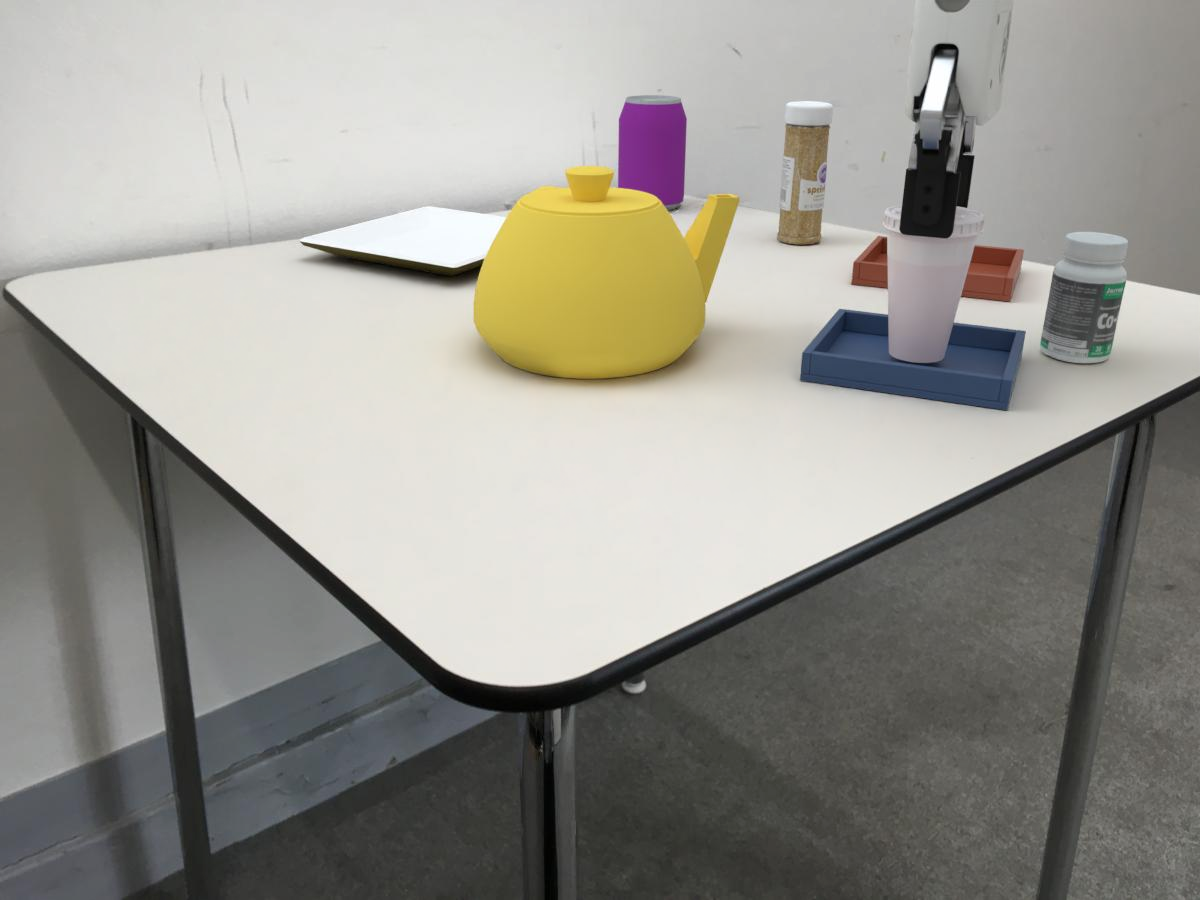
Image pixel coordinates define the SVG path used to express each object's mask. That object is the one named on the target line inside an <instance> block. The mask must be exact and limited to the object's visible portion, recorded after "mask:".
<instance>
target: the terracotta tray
mask: <svg viewBox="0 0 1200 900" xmlns="http://www.w3.org/2000/svg"><path fill="white" fill-rule="evenodd" d="M1024 252H1025V249H1022V248H1011V247H999V246H991V245H990V246H989V245H980V244H975V246H974V250H973V254H972V258H971V261H970V264H969V268H968V272H967V275H966V279H965V283H964V286H963V290H962V294H961V297H965V298H974V299H983V300H989V301H990V300H991V301H999V302H1000V301H1001V302H1011V300H1012V296H1013V294H1014V291H1015V288H1016V286H1017V282H1018V279H1019V276H1020V273H1021V270H1022V264H1023V259H1024ZM850 283H851V285H855V286H863V287H864V286H865V287H873V288H882V289H883V288H885V289H888V261H887V236H883V235H876V237H875V238H874V240H873V241H871V242H870V244H869V245H868V246H867V247H866V248H865V249H864V250H863V252H862V253H860V254H859V255H858V257H857V258H856V259H855V260H854V261H853V264H852V275H851V282H850Z"/></svg>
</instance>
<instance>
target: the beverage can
mask: <svg viewBox="0 0 1200 900" xmlns="http://www.w3.org/2000/svg"><path fill="white" fill-rule="evenodd" d="M687 121H688V119H687V115H686V112H685V109H684V106H683V102H682V98H681V97H680V96H674V95H660V94H658V95H657V94H645V95H644V94H643V95H642V94H641V95H629V96H626V97H625V101H624V104H623V107H622V109H621V112H620V115H619V118H618V150H617V151H618V153H617V154H618V158H617V161H618V163H617V164H618V165H617V169H618V170H617V188H624V189H632V190H637V191H642V192H646V193H649V194H652V195H654V196H656V197H657V198H658V199H659V200H660V201H661V202H662V203H663V205H664V206H665V208H666V209H667V210H668V211H673V210H676V209H677V208H678V207H679V206H680V205H681V204H682V203H683V202H684V198H685V177H686V154H687V153H686V149H687V123H688V122H687Z"/></svg>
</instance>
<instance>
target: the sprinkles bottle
mask: <svg viewBox="0 0 1200 900" xmlns="http://www.w3.org/2000/svg"><path fill="white" fill-rule="evenodd" d="M784 108H785V109H784V119H783V121H784V123H785V126H784V128H785V133H784V145H783V146H784V147H783V155H782V164H781V165H782V166H781V177H780V178H781V179H780V191H779V192H780V194H779V220H778V230H777V231H778V232H777V233H776V238H777V240H778V241H780V242H782V243H784V244H789V245H795V246H803V245H814V244H817V243H819V242H821V240H822V238H823V237H822V220H823V209H824V207H825V206H824V205H825V204H824V203H825V194H826V184H827V183H826V181H827V170H828V164H827V163H828V150H829V149H828V148H829V140H830V139H829V136H830V129H831V126H830V125H831V124H833V114H834V105H833V104H832V103H830V102H825V101H818V100H817V101H816V100H798V101H790V102H787V103H786V104H785V107H784Z"/></svg>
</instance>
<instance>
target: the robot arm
mask: <svg viewBox="0 0 1200 900" xmlns="http://www.w3.org/2000/svg"><path fill="white" fill-rule="evenodd" d="M1013 9H1014V0H915V3H914V8H913V18H912V25H911V32H910V33H911V34H910V44H909V52H908V60H907V61H908V62H907V71H906V73H907V74H906V86H905V97H904V98H905V99H904V100H905V101H904V111H905V115H906V117H907V118H908V119H909V120H911V122H913V123H914V128H913V135H912V141H911V148H910V152H909V158H908V167H907V168H906V169H905V175H904V183H903V184H904V185H903V194H902V201H901V205H902V210H901V218H900V227H899V230H900V232H901V233H902V234H904V235H912V236H923V237H934V238H949V237H950V236H951V235H952V233H953V229H954V222H955V214H956V207H957V206H958V207H964V208H968V207H969V200H970V193H971V185H972V177H973V170H974V163H975V155H974V154H973V152H974V151H973V150H974V147H975V146H974V145H975V136H976V127H977V126H979V127H980V126H984V125H985V124H986V123H988V122H989V121H990V120H992V119H993V118H994V116H996V114H997V113H998V112H999V111H1000V109H1001V104H1002V97H1003V88H1004V78H1005V71H1006V62H1007V54H1008V46H1009V39H1010V32H1011V24H1012V16H1013Z"/></svg>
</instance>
